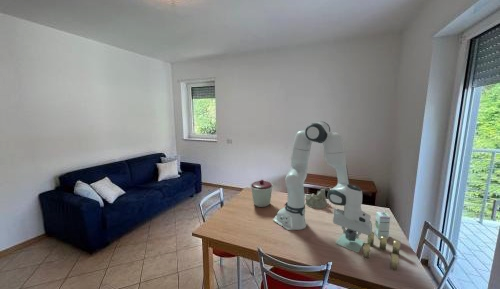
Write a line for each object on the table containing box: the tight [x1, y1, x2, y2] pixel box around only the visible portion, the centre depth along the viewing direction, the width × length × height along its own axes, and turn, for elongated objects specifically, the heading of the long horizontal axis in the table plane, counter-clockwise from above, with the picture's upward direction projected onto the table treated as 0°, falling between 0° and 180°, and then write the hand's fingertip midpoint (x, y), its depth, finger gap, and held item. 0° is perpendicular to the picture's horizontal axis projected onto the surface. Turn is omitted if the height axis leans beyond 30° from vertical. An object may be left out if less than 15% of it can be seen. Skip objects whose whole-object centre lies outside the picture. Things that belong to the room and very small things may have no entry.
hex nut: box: [345, 228, 358, 241], centre depth 120 cm, size 6×5×4 cm
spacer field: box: [362, 231, 401, 272], centre depth 110 cm, size 16×16×7 cm
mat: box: [335, 233, 365, 254], centre depth 121 cm, size 12×12×1 cm
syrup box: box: [374, 211, 391, 240], centre depth 125 cm, size 6×6×14 cm
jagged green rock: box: [304, 188, 328, 209], centre depth 169 cm, size 16×16×15 cm
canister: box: [250, 179, 274, 208], centre depth 169 cm, size 18×18×21 cm
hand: (350, 235), depth 120 cm, fingers closed on hex nut, 5 cm apart
